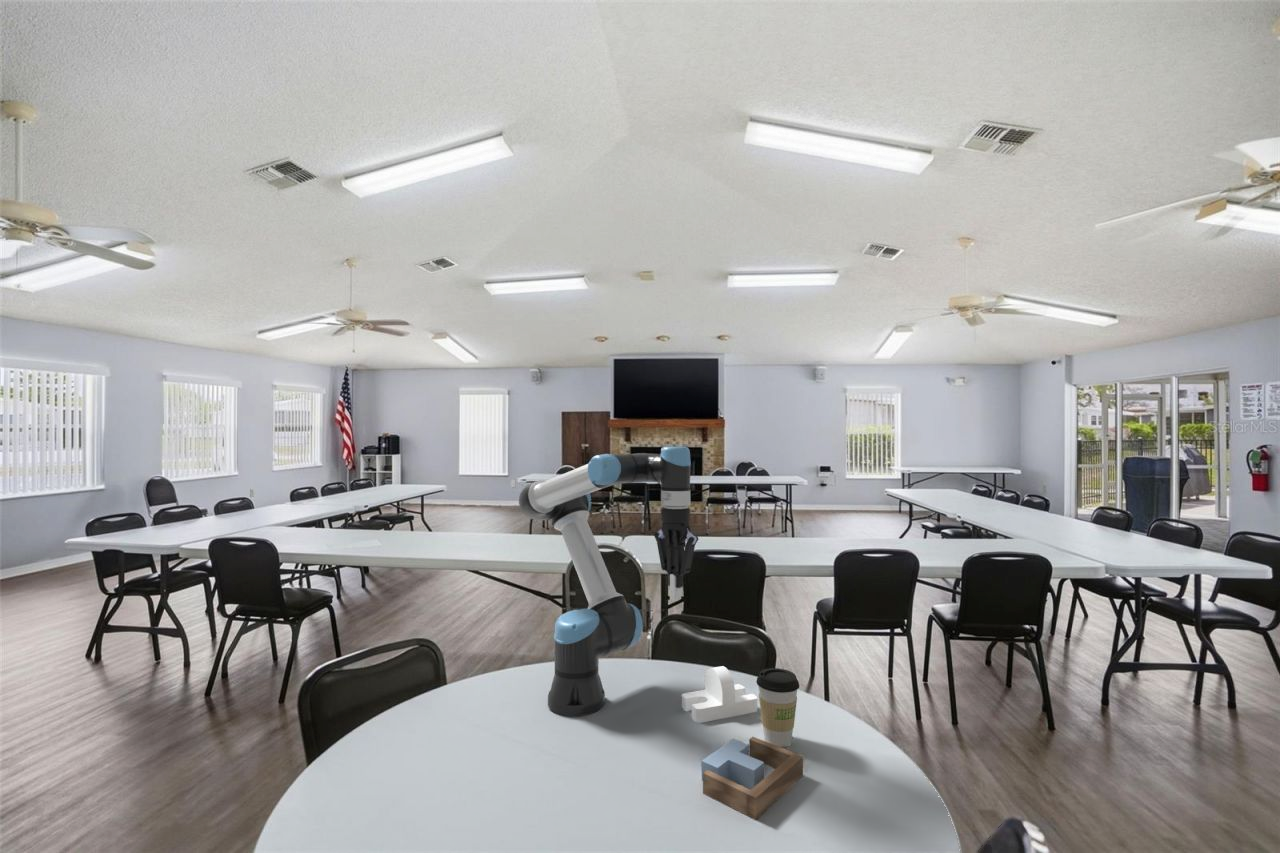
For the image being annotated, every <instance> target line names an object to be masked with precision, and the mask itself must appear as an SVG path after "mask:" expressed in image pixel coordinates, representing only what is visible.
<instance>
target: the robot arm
mask: <svg viewBox="0 0 1280 853" xmlns="http://www.w3.org/2000/svg"><path fill="white" fill-rule="evenodd" d="M690 451H691V450H690V449H689V447H686V446H663V447H661V449H660V453H646V452H637V453H625V454H624V453H620V454H619V453H618V454H617V453H614V454H613V453H612V454H610V453H603V454H598V455H597V454H596V455H594V456H593V457H592V458H591V459H590V460H589V462H588V463H587V464H584V465H582V466H579V467H577V468H575V469H573V470H569V471H567V472H565V473H562V474H560V475H558V476H555V477H553V478H550V479H547V480H536V481H535V482H531V483H529V484H527V485H526V486H524V487H523V488H522V490H521V492H520V493H519V496H518V505H519V509H520V511H521V512H522V514H524V516H526V517H527V518H529V519H530V520H534V521H549V520H550V521H551V523H552V525H553V528H554V529H555V530H556V531H559V532H561V535H562V538H563V540H564V543H565V546H566V548H567V551H568V553H569V556H570V558H571V561H572V564H573V566H574V568H575V571H576V573H577V576H578V578H579V582H580V585H581V587H582V590H583V592H584V595H585V598H586V600H587V602H588V607H587V608H580V609H573V610H569V611H567V612H564V613H563V614H561V615H560V616H559V617H558V618H557V620H556V621H555V624H554V626H555V627H554V633H553V634H554V635H553V638H554V676H553V679H552V683H551V686H550V690H549V692H548V694H547V708H548V709H549V710H550V711H551V712H553V713H555V714H557V715H561V716H567V717H568V716H569V717H581V716H586V715H591V714H594V713H596V712H597V711H599V710H601V709H603V707H604V706H605V704H606V692H605V690H604V688H603V684H602V680H601V676H600V674H599V659H600V658H602V657H605V656H608V655H611V654H614V653H617V652H619V651H620V652H621V651H624V650H627V649H629V648H630V647H634V645H636V644H637V643H638V641H639V640H640V638H641V636H642V632H643V618H642V614H641V612H640V610H639V609H638V608H637V606H635V605H634V604H632V603H627V601H626V599H625V598H626V597H625V595H623V594H622V593H619V592H617V590H616V588H615V586H614V584H613V580H612V578H611V576H610V572H609V571H608V568H607V566H606V564H605V561H604V558H603V557H602V554H601V551H600V549H599V547H598V544H597V541H596V539H595V537H594V534H593V532H592V531H593V530H592V529H591V527H590V525H589V522H588V520H589V517H590V510H591V507H592V503H591V502H592V498H591V493H594V492H597V491H599V490H602V489H606V488H608V487H611V486H613V485H618V484H619V485H620V484H621V485H622V484H630V483H631V484H633V483H634V484H635V483H647V482H649V483H660V505H661V506H662V507H661V508H660V521H661V522H662V524H661V526H660V530H658V531H655V532H653V536H654V539H655V541H656V545H657V551H658V557H659V561H660V567H661V570H662V571H665V572H666V573H667V585H668V587H669V601H670V602H677V601H679V600H682V588H683V587H684V575H685V574H687V573H690V572H691V567H692V562H693V556H694V552H695V546H696V544H697V543H698V541H699V536H697V535H694V534H693V533H692V532H691V528H690V523H691V508H690V506H691V465H692V462H691V452H690Z"/></svg>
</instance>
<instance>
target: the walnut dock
mask: <svg viewBox="0 0 1280 853" xmlns="http://www.w3.org/2000/svg"><path fill="white" fill-rule="evenodd" d="M748 744H749V756H750V757H753V758H755V759H758V760H760V761H763V762H764V765H766V766H768V767H770V768H773V770H772V771H771V772H770V773H768V775H766V776H764V779H763V780H762V781H761V782H760V783H758V784H757V785H756V786H755V787H754V788H752V789H749V788H747V787H745V786H742V785H740V784H738V783H736V782H733V781H731V780H728V779H726V778H724V777H722V776H720V775H718V774H715V773H713V772H711V771H709V770H706V771H705V772H703V781H702V794H703V795H705V796H708V797H709V798H712V799H713V800H715V801H718V802H719V803H722V804H723V805H725V806H727V807H730V808H732V809H733V810H736V811H737V812H739V813H741V814H743V815H745V816H746V817H749V818H751V819H753V820H755V821H756V820H757V819H759V818H760V817H761V816H762V815H763V814H764V813H765V812H766V811H767V810H768V809H769V808H771V807H772V806H773V805H774V804H775V803H776V802H777V801H778V800H779V799H781V797H782V796H783V795H784V794H785V793H787V792H788V790H790V789H791V788H792V787H793V786H794V785H795V784H796V783H797V782H798V781H799V780H801V778H802V777H803V776H804V756H803V755H802V754H798V753H796V752H793V751H790V750H788V749H785V748H784V747H778V746H776V745H773V744H770V743H768V742H766V741H765V740H763V739H760V738H757V737H755V736H752V737H750V738H749V739H748Z"/></svg>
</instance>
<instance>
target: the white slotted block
mask: <svg viewBox="0 0 1280 853" xmlns="http://www.w3.org/2000/svg"><path fill="white" fill-rule="evenodd" d="M746 690H747V688H746V687H745V686H743V685H742V684H738V683H736V684H735V683H734V680H733V677H732V674H731V672H730V670H728V668H727V667H725V666H724V665H722V666H715V667H710V668H709V667H708V668H707V670H706V672H705V675H704V689H701V690H696V691H689V692H684V693H682V694H681V709H682V708H683V709H684V710H685V711H687V712H691V719H692V721H694V722H695V723H699V724H702V723H706V722H707V723H708V722H711V721H716V720H720V719H721V720H722V719H727V718H731V717H736V716H742V715H746V714H753V713H756V712H758V696H757V695H755V693H749V694H748V693H747V692H746ZM746 693H747V694H746ZM683 709H682V710H683ZM684 710H683V711H684ZM689 710H690V711H689ZM691 710H692V711H691ZM685 711H684V712H685Z"/></svg>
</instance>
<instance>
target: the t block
mask: <svg viewBox="0 0 1280 853" xmlns="http://www.w3.org/2000/svg"><path fill="white" fill-rule="evenodd" d="M700 764H701V781H702V782H703V772H705V771H706V770H709V771H711V772H713V773H715V774H718V775H720V776H722V777H724V778H726V779H728V780H730V781H733V782H735V783H737V784H739V785H741V786H743V787H745V788H748V789H750V790H751V789H752V788H754V787H755V786H756V785H757V784H758V783H760V782H761V781H762V780H763V779H764V778H765V764H764V762H763V761H760V760H758V759H755V758H753V757H750V756H749V743H746V742H743V741H740V740H738V739H735V738H732V739H731V740H729V741H727V742H726V743H725V744H724V745H722V746H721V747H720V748H718V749H716V750H715V751H714V752H712V753H710V754H709V755H707V756H706V757H705V758H703V759H701V763H700Z"/></svg>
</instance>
